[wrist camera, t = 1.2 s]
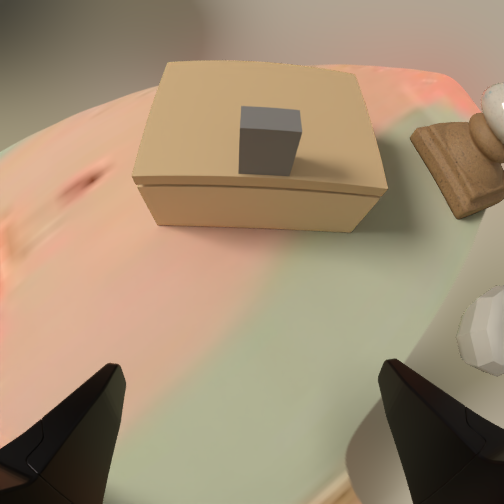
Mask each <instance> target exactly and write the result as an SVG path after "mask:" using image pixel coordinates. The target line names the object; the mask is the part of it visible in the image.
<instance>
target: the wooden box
mask: <svg viewBox="0 0 504 504" xmlns="http://www.w3.org/2000/svg"><path fill="white" fill-rule="evenodd" d="M137 188H138V190H139V192H140V193H141V195H142V197H143V199H144V201H145V203H146V205H147V207H148V209H149V210H150V212H151V214H152V216H153V218H154V220H155V222H156V223H157V225H175V226H212V227H242V228H267V229H290V230H311V231H330V232H348V233H351V232H352V231H353V230H354V228H355V227H356V226H357V225H358V224H359V223H360V221H361V220H362V219H363V218H364V217H365V216H366V215H367V213H368V212H369V211H370V210H371V209H372V208H373V206H374V205H375V204H376V203H377V202H378V200H379V199H380V196H374V195H365V194H355V193H345V192H334V191H322V190H309V189H295V188H279V187H260V186H236V185H194V184H148V185H138V186H137Z"/></svg>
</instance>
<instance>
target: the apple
mask: <svg viewBox="0 0 504 504" xmlns="http://www.w3.org/2000/svg"><path fill="white" fill-rule="evenodd" d="M456 339H457V343H458V347H459V351H460V356H461V358H462V359H463V360H464V362H465V363H467V364H469V365H471V366H473V367H475V368H477V369H479V370H481V371H483V372H486V373H489V374H492V375H494V376H499V375H502V374H504V286H502V285H496V286H494V287H493V288H491V289H490V290H488V291H487V292H486V293H484V294H483V295H481V296H480V297H478V298H477V299H476V300H475V301H474V302H473V303H472V304H470V305H469V306H468V307H467V308H466V310H465V312H464V313H463V315H462V317H461V321H460V325H459V328H458V332H457V335H456Z"/></svg>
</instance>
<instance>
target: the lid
mask: <svg viewBox="0 0 504 504" xmlns="http://www.w3.org/2000/svg"><path fill="white" fill-rule="evenodd" d="M132 178H133V180H134V182H135V184H136V185H148V184H194V185H236V186H260V187H279V188H295V189H309V190H322V191H334V192H345V193H355V194H365V195H374V196H383V194H384V193H385V192H386V191H387V190H388V186H387V182H386V177H385V173H384V169H383V164H382V160H381V156H380V153H379V149H378V145H377V141H376V138H375V134H374V131H373V127H372V124H371V120H370V117H369V114H368V111H367V108H366V104H365V101H364V98H363V95H362V92H361V90H360V87H359V84H358V81H357V78H356V76H355V74H351V73H346V72H340V71H335V70H329V69H322V68H316V67H309V66H301V65H292V64H282V63H270V62H254V61H218V60H217V61H215V60H214V61H180V62H168V63H167V66H166V68H165V71H164V73H163V76H162V79H161V81H160V84H159V87H158V90H157V92H156V95H155V98H154V101H153V104H152V107H151V110H150V113H149V116H148V120H147V123H146V126H145V129H144V133H143V136H142V139H141V143H140V146H139V150H138V154H137V157H136V161H135V165H134V169H133V173H132Z"/></svg>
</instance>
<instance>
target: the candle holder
mask: <svg viewBox="0 0 504 504" xmlns="http://www.w3.org/2000/svg"><path fill="white" fill-rule="evenodd" d="M481 107H482V112H483V113H476V114H474V115H473V116H472V117H471V118H470V121H469V123H468V122H449V123H438V124H434V125H430V126H427V127H420V128H417V129H416V130H415V131H414V133H413V134H412V135H411V137H410V140H411V142H412V143H413V145H414V147H415V148H416V150H417V151H418V153H419V155H420V156H421V158H422V159H423V161H424V163H425V164H426V166H427V168H428V169H429V171H430V173H431V174H432V176H433V178H434V180H435V181H436V183H437V185H438V187H439V188H440V190H441V192H442V194H443V196H444V198H445V199H446V201H447V203H448V205H449V207H450V209H451V211H452V212H453V214H454V216H455V217H456V218H457V219H461V218H464V217H467V216H469V215H472V214H474V213H477V212H479V211H481V210H484V209H486V208H488V207H491V206H493V205H495V204H497V203H499V202H500V201H502V200H503V199H504V170H503V168H502V166H501V163H504V82H503V83H498V84H495V85H492V86H490V87H488V88H487V89H486V90H485V91H484V93H483V94H482V97H481Z"/></svg>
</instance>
